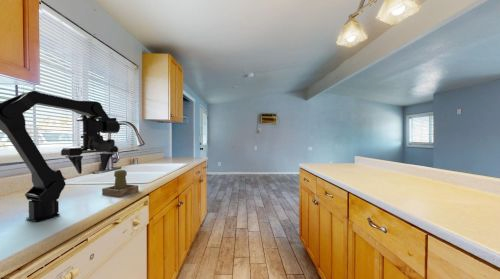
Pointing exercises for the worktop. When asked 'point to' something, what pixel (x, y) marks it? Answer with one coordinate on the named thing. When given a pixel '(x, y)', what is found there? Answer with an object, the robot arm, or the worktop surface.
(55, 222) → the worktop surface
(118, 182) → the cork
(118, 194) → the slot holder
